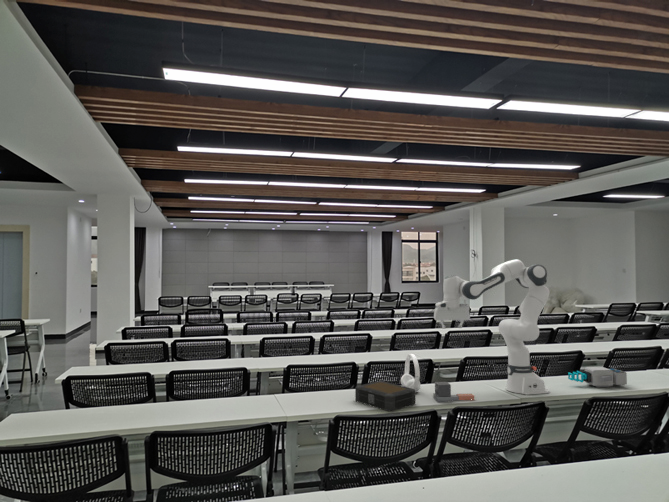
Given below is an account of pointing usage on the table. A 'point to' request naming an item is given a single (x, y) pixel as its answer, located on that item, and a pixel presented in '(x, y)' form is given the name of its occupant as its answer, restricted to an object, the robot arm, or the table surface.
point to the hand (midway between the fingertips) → (452, 328)
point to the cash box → (385, 395)
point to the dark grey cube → (442, 389)
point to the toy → (600, 376)
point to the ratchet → (453, 397)
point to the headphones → (407, 378)
